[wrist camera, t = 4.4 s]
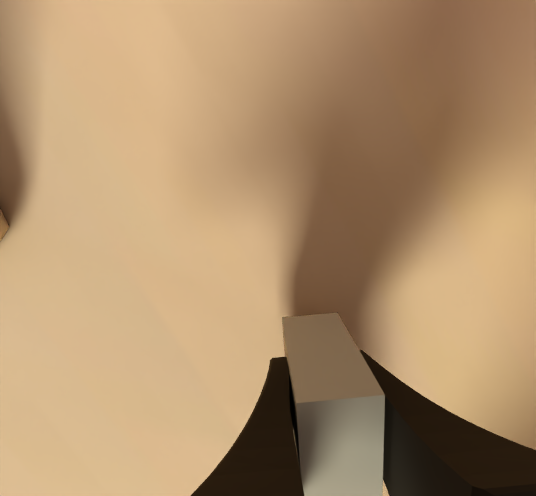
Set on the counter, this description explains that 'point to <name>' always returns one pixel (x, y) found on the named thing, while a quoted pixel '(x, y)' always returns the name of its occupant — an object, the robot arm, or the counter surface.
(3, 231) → the salt shaker
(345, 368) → the grey rectangular bar
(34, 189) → the counter surface
